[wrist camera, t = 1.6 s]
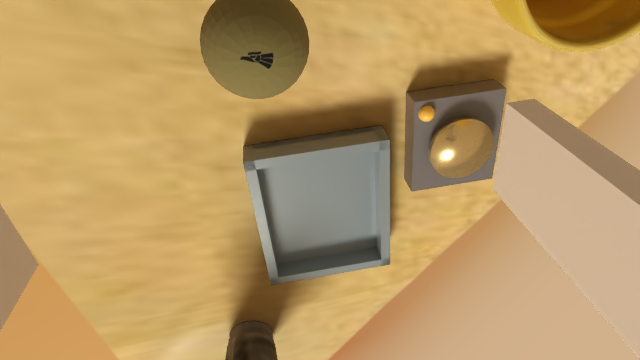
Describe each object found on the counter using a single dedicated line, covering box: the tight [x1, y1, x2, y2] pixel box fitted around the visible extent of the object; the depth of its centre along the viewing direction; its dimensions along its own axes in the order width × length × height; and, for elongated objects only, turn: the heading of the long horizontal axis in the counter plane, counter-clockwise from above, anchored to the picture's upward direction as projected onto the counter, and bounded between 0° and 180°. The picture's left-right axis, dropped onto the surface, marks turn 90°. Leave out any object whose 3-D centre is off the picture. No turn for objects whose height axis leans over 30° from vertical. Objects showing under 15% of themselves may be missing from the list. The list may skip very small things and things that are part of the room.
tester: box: [404, 79, 506, 191], centre depth 34 cm, size 8×7×3 cm
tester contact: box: [428, 117, 494, 178], centre depth 33 cm, size 5×5×1 cm
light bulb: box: [200, 0, 309, 99], centre depth 24 cm, size 6×6×10 cm
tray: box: [243, 125, 390, 285], centre depth 36 cm, size 13×11×2 cm
